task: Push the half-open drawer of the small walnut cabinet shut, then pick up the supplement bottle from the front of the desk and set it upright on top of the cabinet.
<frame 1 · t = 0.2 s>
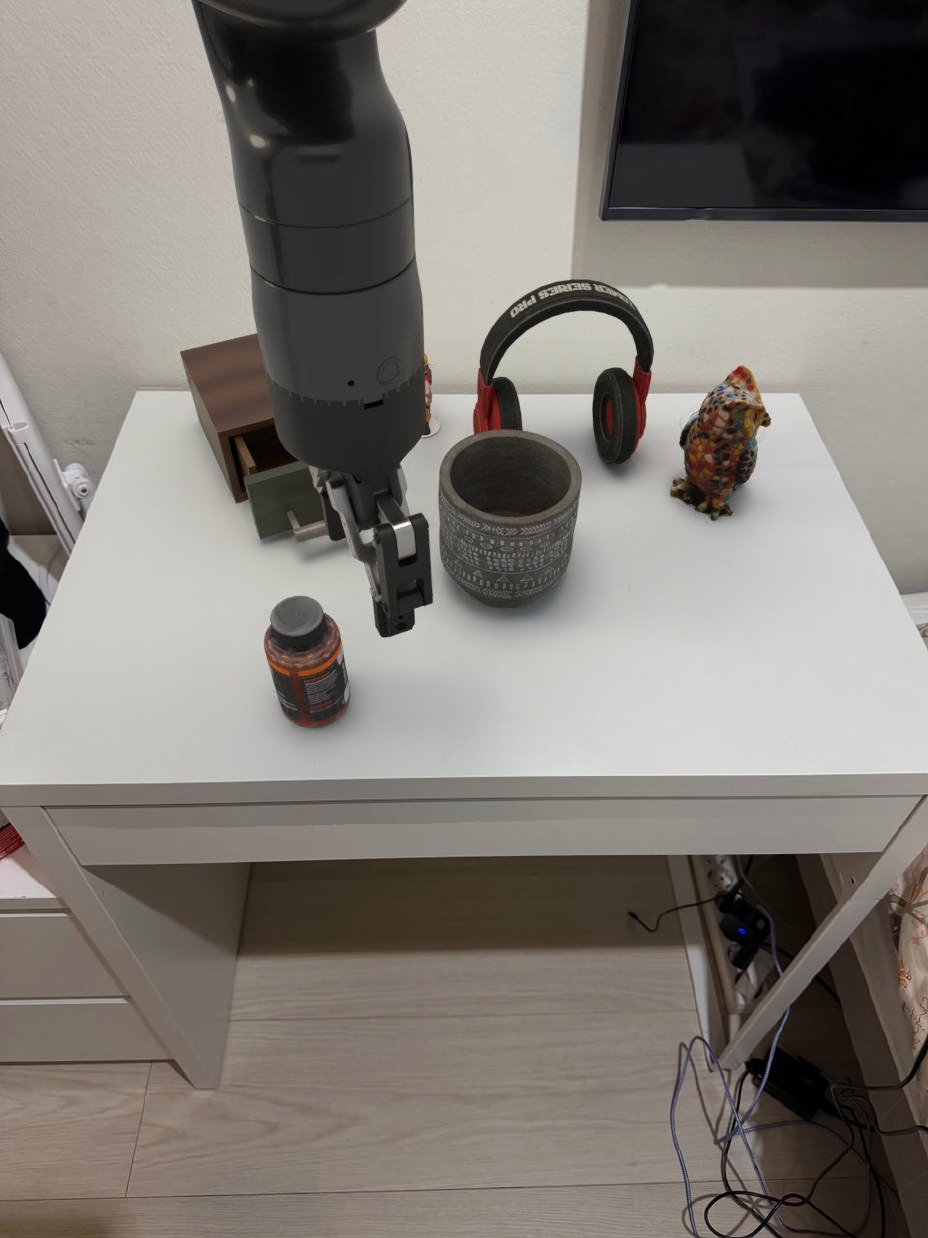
hand: (369, 580, 52), 22 cm above the table, tool pointing down, fingers open, 8 cm apart
drawer: (296, 465, 84), point 4 cm above the table, slide at 6.0 cm
planter: (502, 576, 81), on the table
figurine: (709, 496, 89), on the table
supplement bottle: (316, 701, 72), on the table
headphones: (554, 459, 92), on the table
action figure: (425, 433, 95), on the table
cabinet: (273, 444, 93), on the table
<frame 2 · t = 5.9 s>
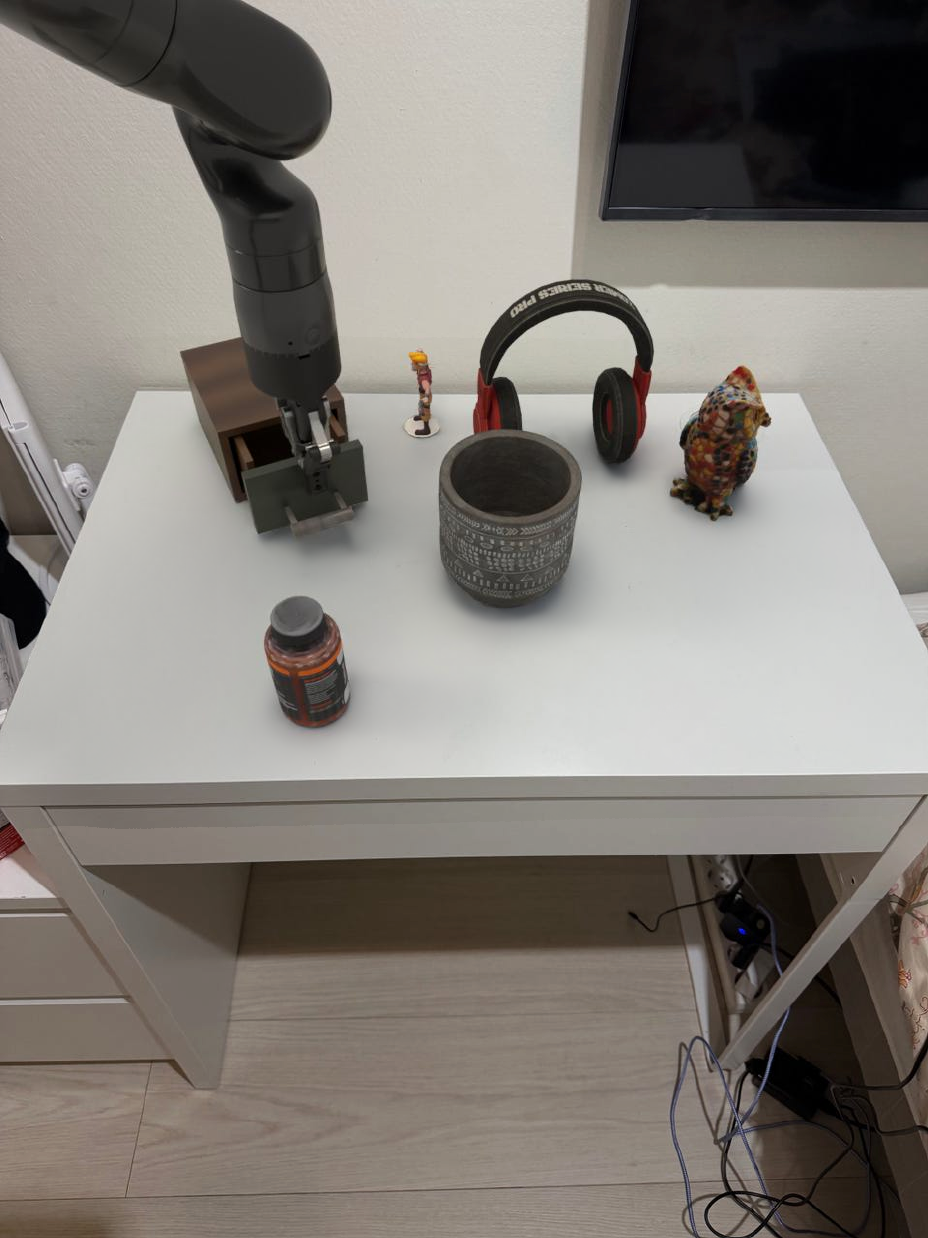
hand: (315, 489, 79), 6 cm above the table, tool pointing down, fingers closed
drawer: (293, 461, 85), point 5 cm above the table, slide at 5.2 cm, touching gripper
everything else where it was.
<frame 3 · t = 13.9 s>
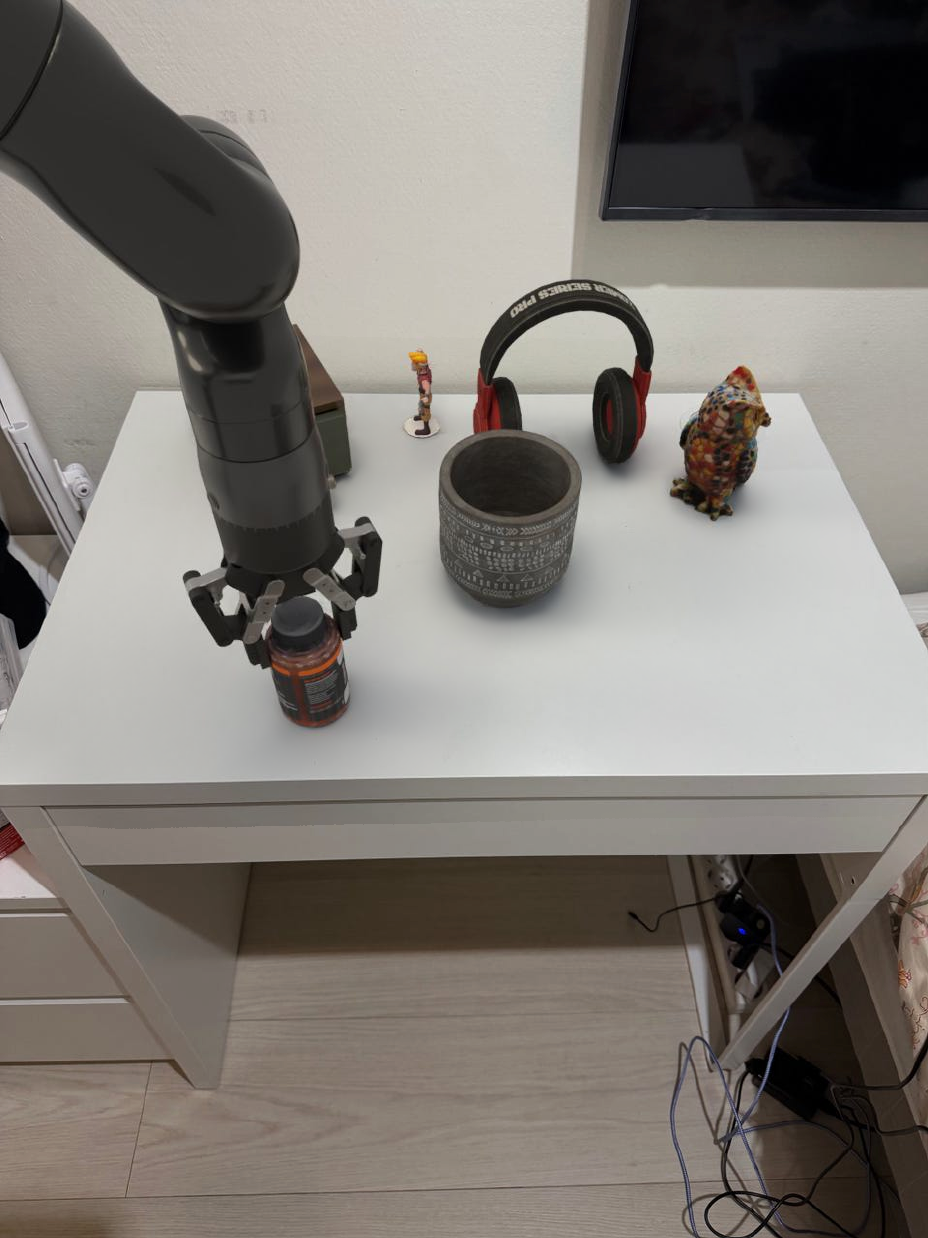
hand: (303, 645, 66), 8 cm above the table, tool pointing down, fingers closed on supplement bottle, 6 cm apart
drawer: (278, 431, 87), point 4 cm above the table, slide at 0.2 cm
supplement bottle: (316, 701, 72), on the table, touching gripper
everything else where it was.
when the fingers open (17 cm above the table, at t = 20.7 s): supplement bottle stays where it is, resting on cabinet.
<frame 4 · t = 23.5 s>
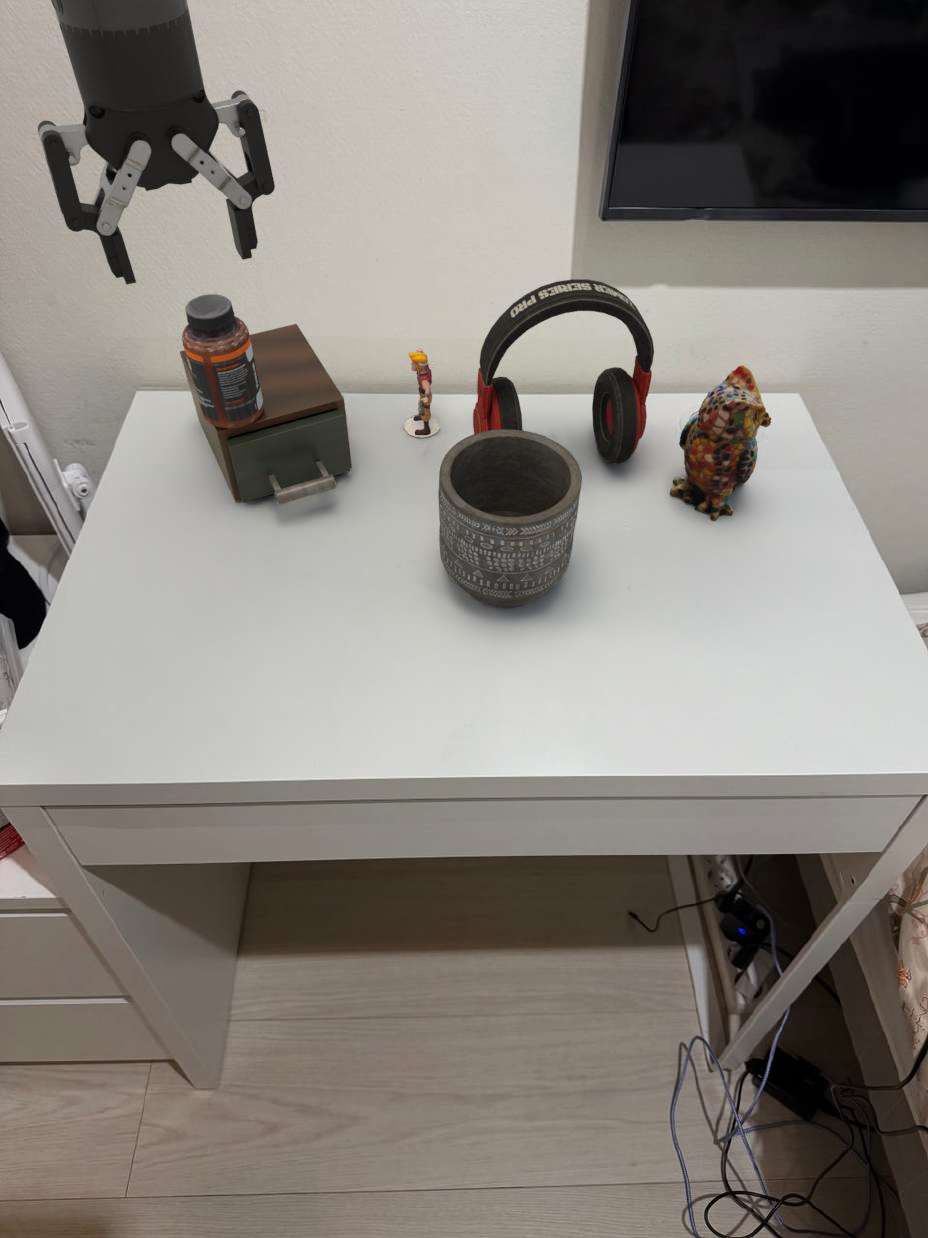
hand: (187, 266, 62), 28 cm above the table, tool pointing down, fingers open, 8 cm apart
supplement bottle: (234, 414, 82), point 9 cm above the table, touching cabinet
everything else where it was.
at the end: drawer slide at 0.2 cm; supplement bottle inside the target area on the cabinet (6.0 cm from its centre), point 8.8 cm above the cabinet's base; supplement bottle tilted 0° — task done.
